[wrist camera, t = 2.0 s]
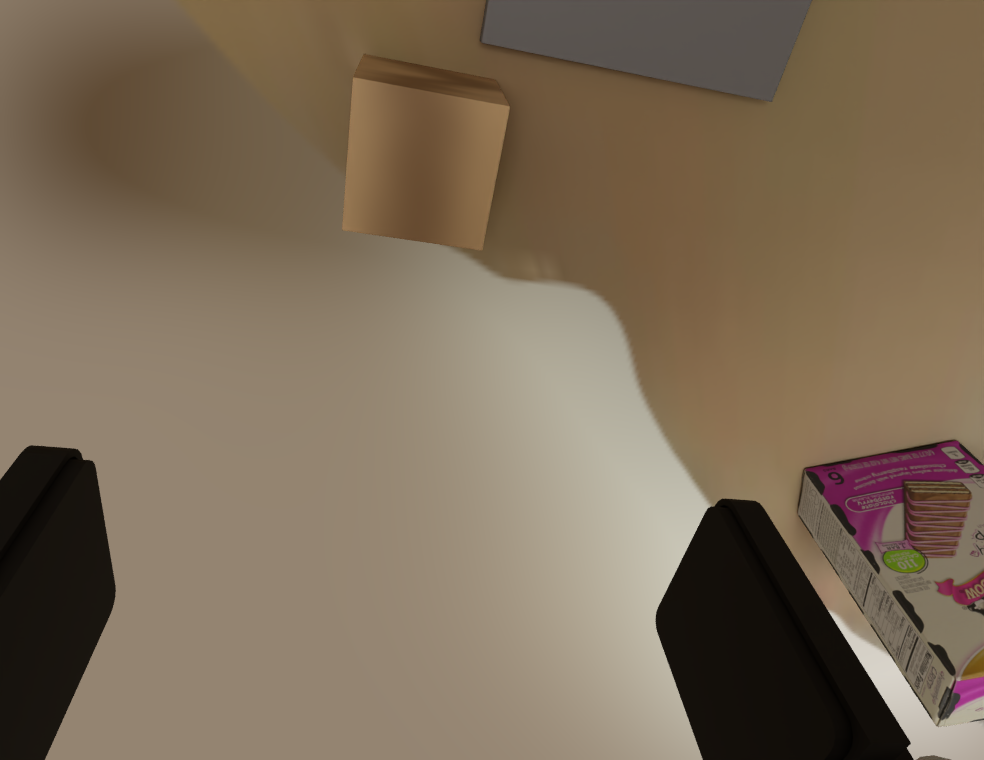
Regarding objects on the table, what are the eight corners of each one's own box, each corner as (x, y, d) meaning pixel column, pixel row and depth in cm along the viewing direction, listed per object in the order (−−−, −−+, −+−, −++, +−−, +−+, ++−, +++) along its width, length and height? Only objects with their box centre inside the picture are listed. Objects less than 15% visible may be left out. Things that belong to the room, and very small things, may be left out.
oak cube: (495, 79, 30) (510, 106, 26) (472, 204, 34) (482, 250, 29) (363, 53, 29) (353, 77, 24) (353, 185, 33) (342, 229, 28)
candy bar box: (958, 434, 46) (1185, 641, 32) (942, 485, 49) (1145, 696, 35) (799, 464, 46) (958, 683, 32) (793, 514, 49) (937, 734, 35)
